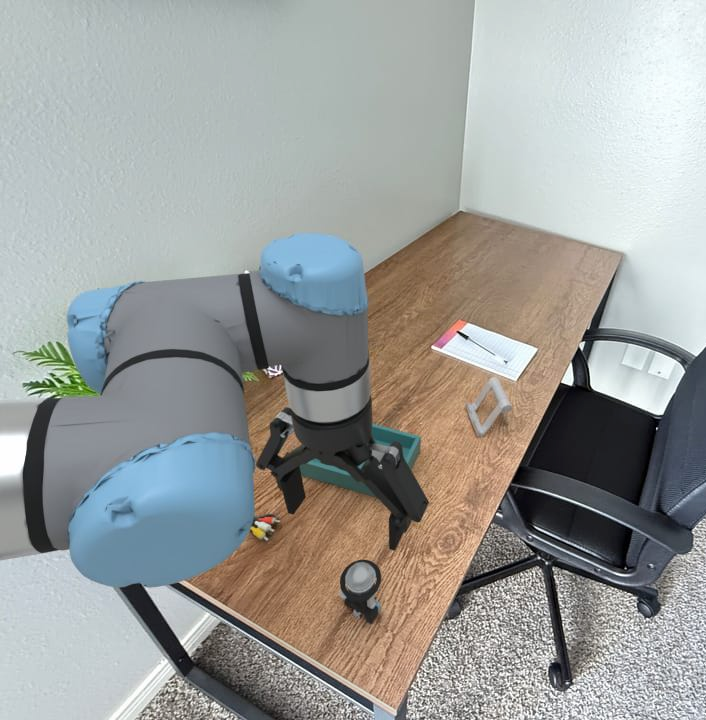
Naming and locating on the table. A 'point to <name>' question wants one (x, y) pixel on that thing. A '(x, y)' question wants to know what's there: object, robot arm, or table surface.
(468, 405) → the tablet stand
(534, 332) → the table surface
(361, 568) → the push button
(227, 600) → the table surface
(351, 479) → the tray
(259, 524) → the composite cable
